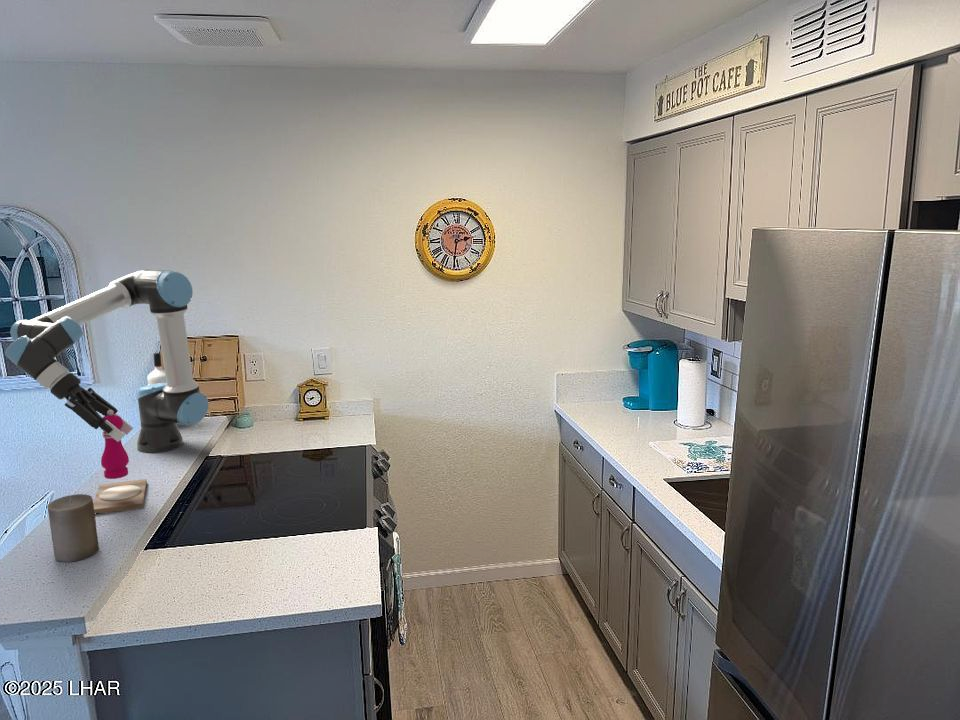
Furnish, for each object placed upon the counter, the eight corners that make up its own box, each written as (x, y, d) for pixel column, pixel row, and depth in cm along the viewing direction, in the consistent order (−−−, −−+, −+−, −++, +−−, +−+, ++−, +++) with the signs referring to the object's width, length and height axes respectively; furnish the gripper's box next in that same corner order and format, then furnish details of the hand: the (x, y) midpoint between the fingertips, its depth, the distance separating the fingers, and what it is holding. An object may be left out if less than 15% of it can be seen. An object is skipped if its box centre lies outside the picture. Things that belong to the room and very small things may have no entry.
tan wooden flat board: (100, 489, 210) (99, 483, 209) (146, 483, 214) (146, 477, 214) (91, 514, 191) (90, 508, 191) (142, 507, 196) (142, 501, 196)
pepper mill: (118, 480, 197) (111, 414, 193) (96, 478, 198) (89, 412, 194) (135, 472, 204) (129, 407, 200) (114, 470, 205) (108, 405, 201)
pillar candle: (101, 541, 176) (94, 486, 173) (96, 558, 167) (88, 501, 164) (58, 548, 172) (50, 492, 169) (50, 565, 163) (41, 507, 160)
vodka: (151, 424, 276) (145, 351, 270) (176, 422, 279) (170, 350, 273) (149, 430, 267) (142, 355, 261) (175, 428, 271) (169, 354, 265)
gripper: (66, 383, 203) (129, 434, 208) (34, 399, 185) (104, 454, 190) (83, 365, 203) (145, 416, 208) (52, 379, 184) (122, 435, 190)
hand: (125, 434), depth 199 cm, fingers closed on pepper mill, 6 cm apart
